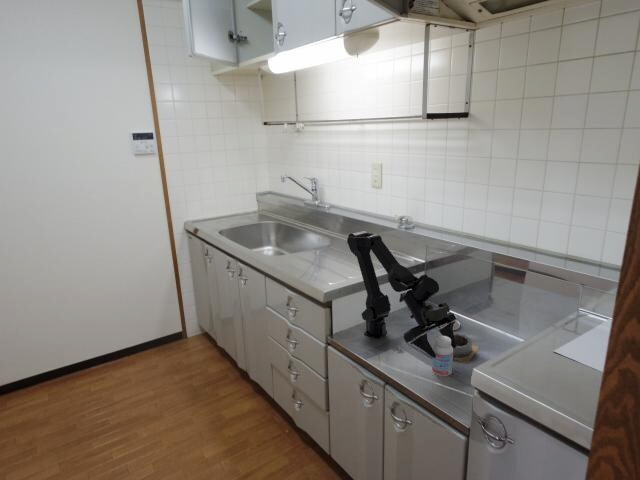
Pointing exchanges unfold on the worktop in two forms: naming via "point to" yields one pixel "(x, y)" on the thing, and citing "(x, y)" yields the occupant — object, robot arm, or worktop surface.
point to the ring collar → (465, 348)
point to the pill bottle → (442, 356)
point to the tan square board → (467, 359)
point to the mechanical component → (455, 324)
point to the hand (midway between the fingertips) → (445, 352)
